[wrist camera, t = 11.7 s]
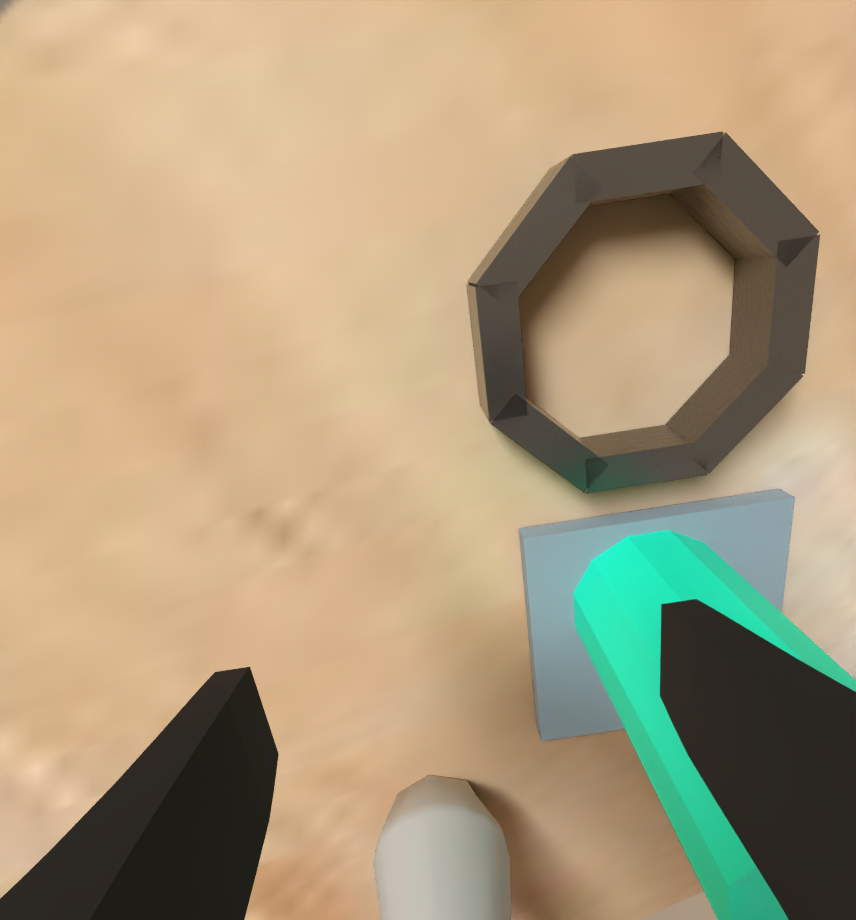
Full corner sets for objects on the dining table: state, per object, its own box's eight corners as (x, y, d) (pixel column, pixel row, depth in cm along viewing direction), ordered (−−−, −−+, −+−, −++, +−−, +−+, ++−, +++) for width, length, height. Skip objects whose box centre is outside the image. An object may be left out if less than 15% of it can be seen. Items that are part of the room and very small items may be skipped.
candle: (745, 536, 20) (1201, 893, 9) (698, 665, 22) (1018, 1091, 11) (590, 523, 19) (859, 886, 8) (557, 656, 21) (736, 1096, 10)
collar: (781, 132, 16) (833, 115, 14) (756, 442, 19) (794, 461, 18) (455, 182, 16) (462, 171, 14) (488, 483, 19) (498, 506, 17)
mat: (779, 488, 20) (794, 497, 19) (759, 692, 24) (770, 706, 23) (518, 528, 20) (523, 538, 19) (537, 726, 24) (541, 741, 23)
